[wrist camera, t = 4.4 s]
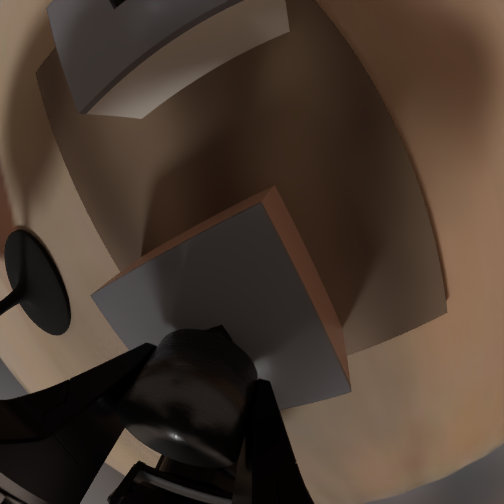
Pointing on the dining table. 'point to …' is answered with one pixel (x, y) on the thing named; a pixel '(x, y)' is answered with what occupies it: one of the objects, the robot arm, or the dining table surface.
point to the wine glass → (35, 284)
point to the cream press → (152, 46)
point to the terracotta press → (239, 298)
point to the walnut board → (269, 170)
